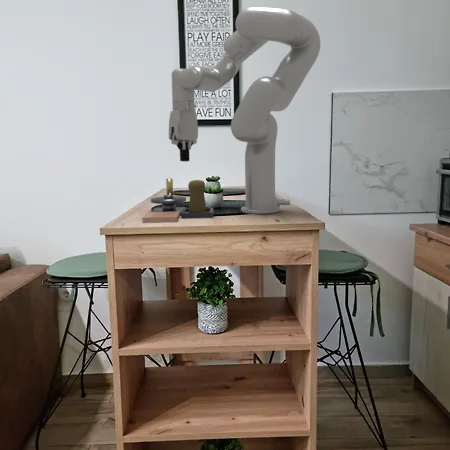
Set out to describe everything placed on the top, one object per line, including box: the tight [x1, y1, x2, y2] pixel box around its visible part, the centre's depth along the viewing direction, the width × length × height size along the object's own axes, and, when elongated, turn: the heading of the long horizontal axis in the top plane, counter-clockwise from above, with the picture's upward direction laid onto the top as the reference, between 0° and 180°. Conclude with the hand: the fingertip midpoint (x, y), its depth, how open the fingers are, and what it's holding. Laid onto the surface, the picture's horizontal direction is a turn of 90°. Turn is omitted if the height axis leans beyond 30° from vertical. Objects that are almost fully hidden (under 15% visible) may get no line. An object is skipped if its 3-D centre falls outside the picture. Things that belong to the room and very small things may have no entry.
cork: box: [187, 179, 207, 213], centre depth 143 cm, size 6×6×11 cm
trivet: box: [142, 211, 181, 224], centre depth 138 cm, size 10×10×2 cm
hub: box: [152, 203, 186, 212], centre depth 153 cm, size 10×10×3 cm
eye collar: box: [180, 207, 214, 219], centre depth 144 cm, size 10×10×2 cm
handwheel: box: [150, 178, 187, 205], centre depth 152 cm, size 12×12×7 cm
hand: (184, 161), depth 161 cm, fingers closed
